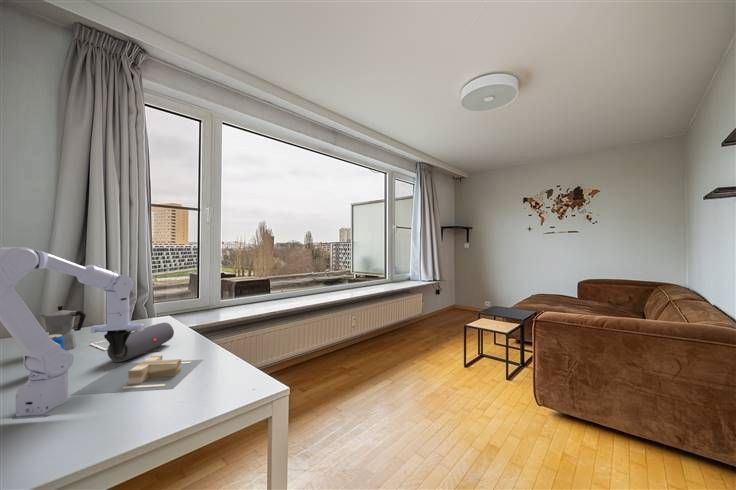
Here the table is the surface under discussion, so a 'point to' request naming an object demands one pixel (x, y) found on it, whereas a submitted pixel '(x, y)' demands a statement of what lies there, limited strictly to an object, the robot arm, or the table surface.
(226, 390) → the table surface
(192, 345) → the table surface
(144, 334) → the bluetooth speaker
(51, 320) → the coffeepot
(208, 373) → the table surface
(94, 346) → the photo frame
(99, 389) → the board
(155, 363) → the t block
